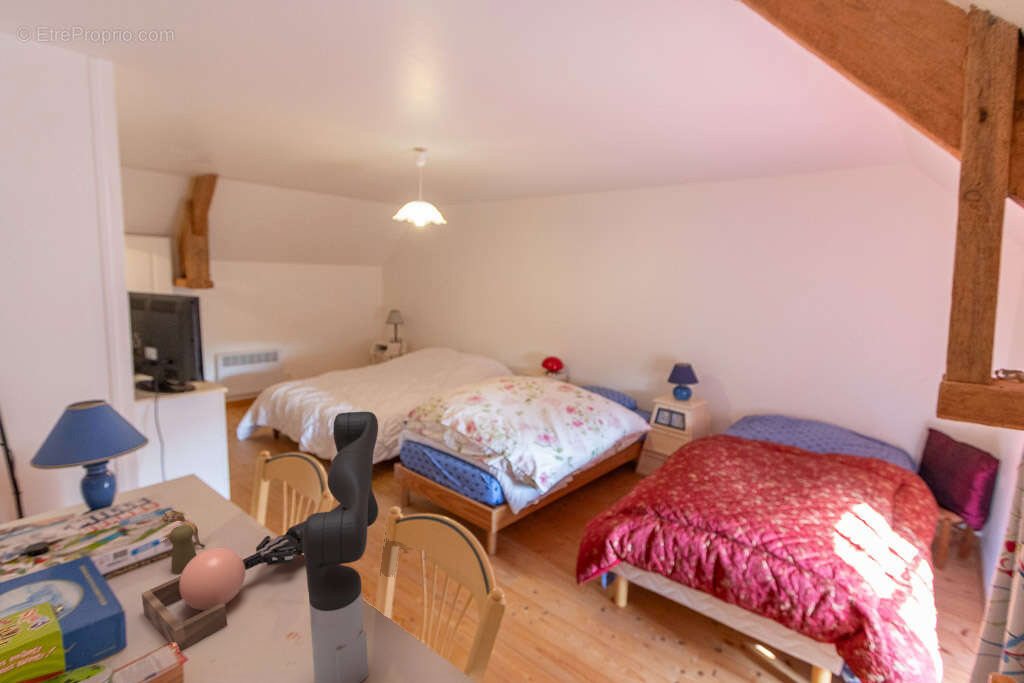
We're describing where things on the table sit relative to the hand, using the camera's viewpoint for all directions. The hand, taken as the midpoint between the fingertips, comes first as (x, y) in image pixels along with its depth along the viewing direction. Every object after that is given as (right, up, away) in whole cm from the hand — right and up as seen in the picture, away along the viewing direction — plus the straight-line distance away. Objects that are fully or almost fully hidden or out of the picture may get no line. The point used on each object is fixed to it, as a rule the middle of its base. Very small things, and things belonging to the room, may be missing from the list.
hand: (243, 565), depth 117 cm
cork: (-20, -5, +9) cm, 23 cm away
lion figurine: (-28, -3, +20) cm, 34 cm away
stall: (-8, -8, -9) cm, 14 cm away
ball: (-4, 0, -5) cm, 7 cm away
